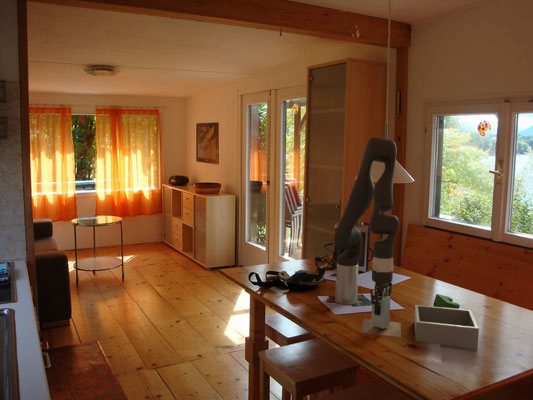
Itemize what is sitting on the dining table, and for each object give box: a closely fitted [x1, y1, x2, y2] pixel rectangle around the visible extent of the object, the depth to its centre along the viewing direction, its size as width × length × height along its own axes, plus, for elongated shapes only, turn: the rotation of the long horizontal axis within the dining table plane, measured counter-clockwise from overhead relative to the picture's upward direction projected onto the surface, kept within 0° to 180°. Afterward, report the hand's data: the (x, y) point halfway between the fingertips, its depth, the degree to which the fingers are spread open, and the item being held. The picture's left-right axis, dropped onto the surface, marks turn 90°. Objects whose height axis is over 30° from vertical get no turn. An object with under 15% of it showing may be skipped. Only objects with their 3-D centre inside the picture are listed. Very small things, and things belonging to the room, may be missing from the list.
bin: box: [413, 304, 480, 352], centre depth 169 cm, size 20×18×8 cm
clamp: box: [432, 293, 461, 309], centre depth 195 cm, size 12×6×9 cm, turn 176°
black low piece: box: [277, 263, 329, 287], centre depth 231 cm, size 22×30×8 cm
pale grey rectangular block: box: [370, 296, 391, 329], centre depth 175 cm, size 5×5×11 cm
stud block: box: [361, 318, 402, 338], centre depth 175 cm, size 14×14×6 cm
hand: (380, 312), depth 175 cm, fingers closed on pale grey rectangular block, 5 cm apart
